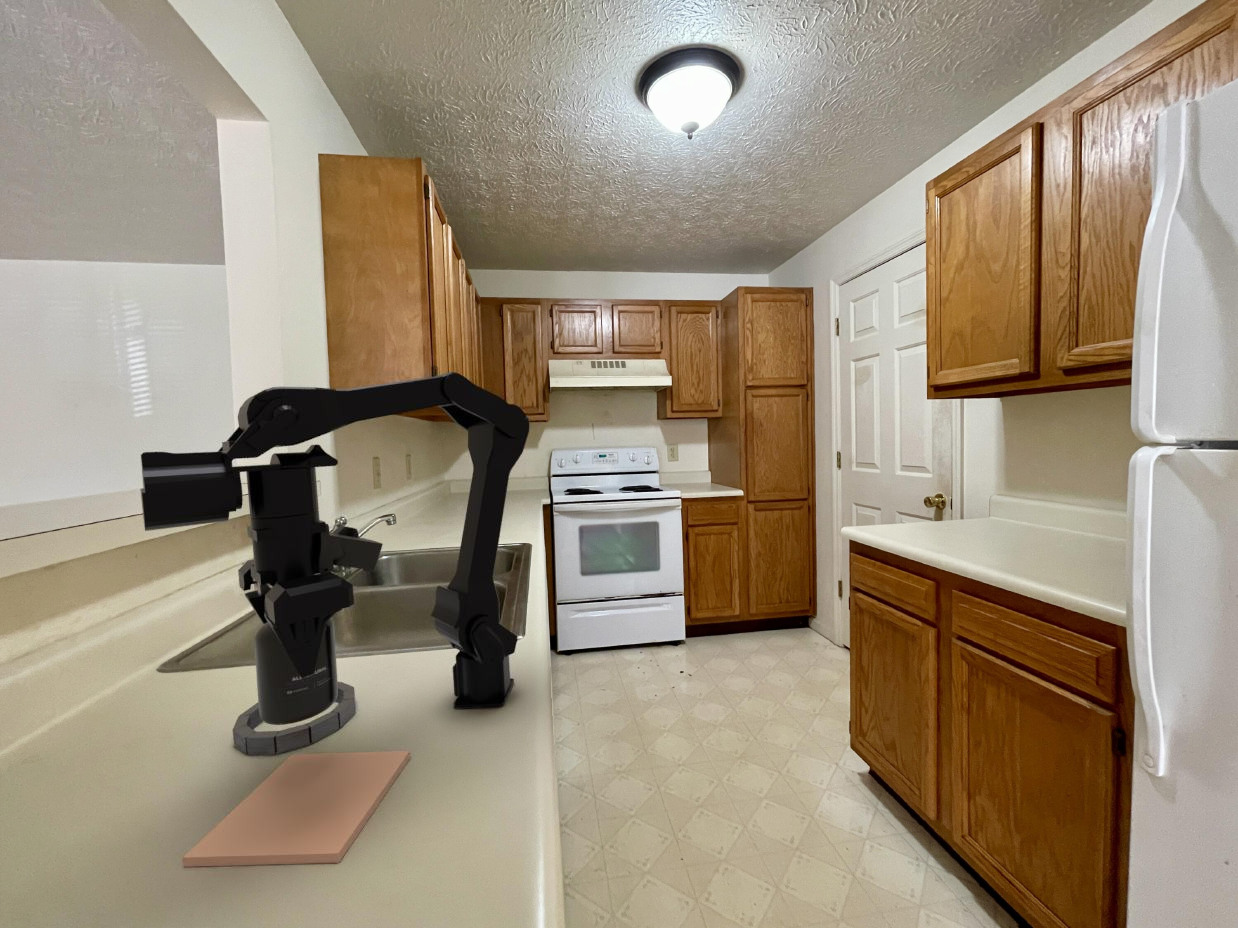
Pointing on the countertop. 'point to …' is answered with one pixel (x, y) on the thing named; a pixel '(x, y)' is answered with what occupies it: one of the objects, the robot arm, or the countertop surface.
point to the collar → (294, 736)
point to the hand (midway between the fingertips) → (298, 664)
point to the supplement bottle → (293, 679)
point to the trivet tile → (302, 811)
